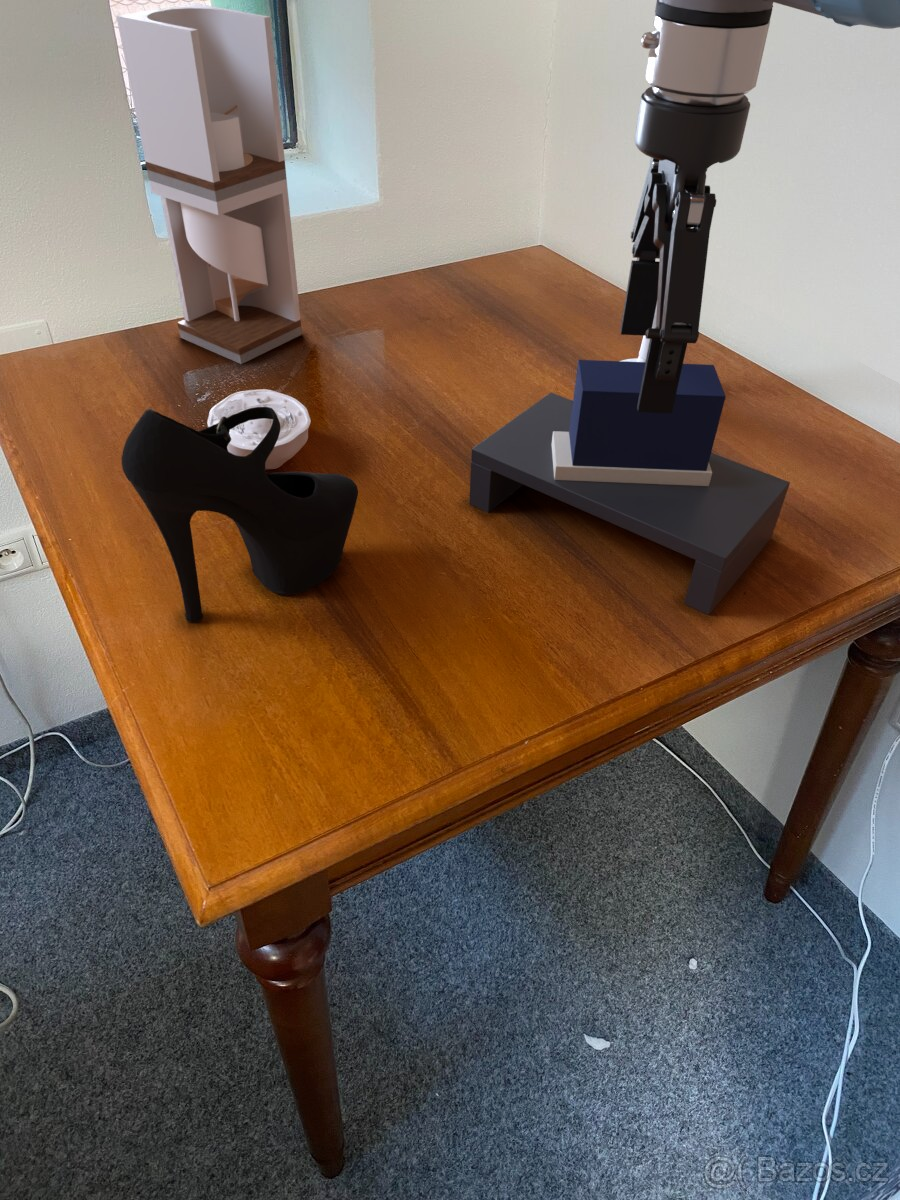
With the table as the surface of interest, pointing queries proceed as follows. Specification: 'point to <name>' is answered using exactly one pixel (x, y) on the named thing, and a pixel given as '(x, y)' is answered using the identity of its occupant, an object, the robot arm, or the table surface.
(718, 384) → the navy block on base
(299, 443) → the cell model
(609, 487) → the shoe shelf
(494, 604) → the table surface
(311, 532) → the high-heeled shoe
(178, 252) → the white architectural model
